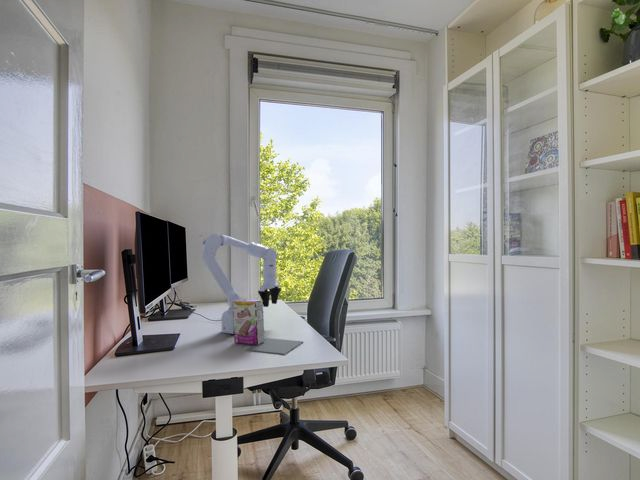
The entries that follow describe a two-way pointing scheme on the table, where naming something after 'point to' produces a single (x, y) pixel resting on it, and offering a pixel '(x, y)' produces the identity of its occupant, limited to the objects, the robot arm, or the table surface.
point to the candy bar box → (248, 321)
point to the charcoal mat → (275, 346)
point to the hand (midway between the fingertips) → (270, 305)
